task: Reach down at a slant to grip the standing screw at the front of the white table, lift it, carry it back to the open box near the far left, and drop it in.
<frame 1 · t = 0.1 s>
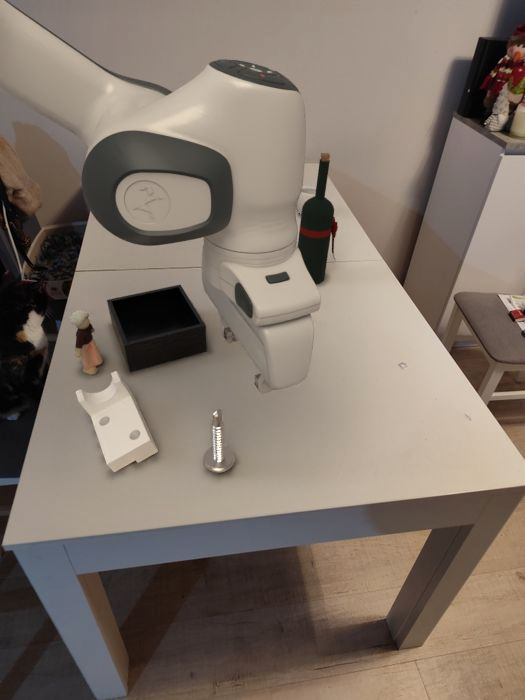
hand: (246, 362, 53), 24 cm above the table, tool pointing down, fingers open, 8 cm apart
screw: (219, 466, 70), on the table
bracket: (120, 436, 73), on the table
open box: (158, 338, 92), on the table
wine bottle: (313, 277, 114), on the table
flower pot: (190, 188, 155), on the table
mug: (305, 212, 144), on the table
grandmother figurine: (93, 365, 86), on the table
rock: (235, 258, 119), on the table
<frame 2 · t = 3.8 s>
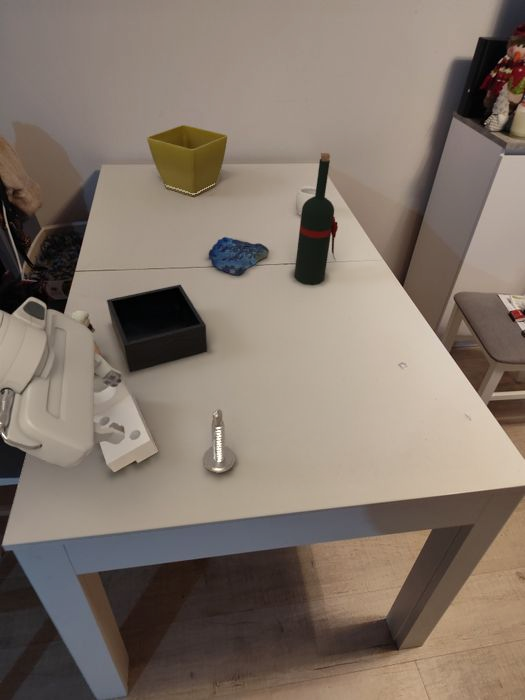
hand: (120, 406, 55), 17 cm above the table, tool tilted 45°, fingers open, 8 cm apart
nothing on the table moved.
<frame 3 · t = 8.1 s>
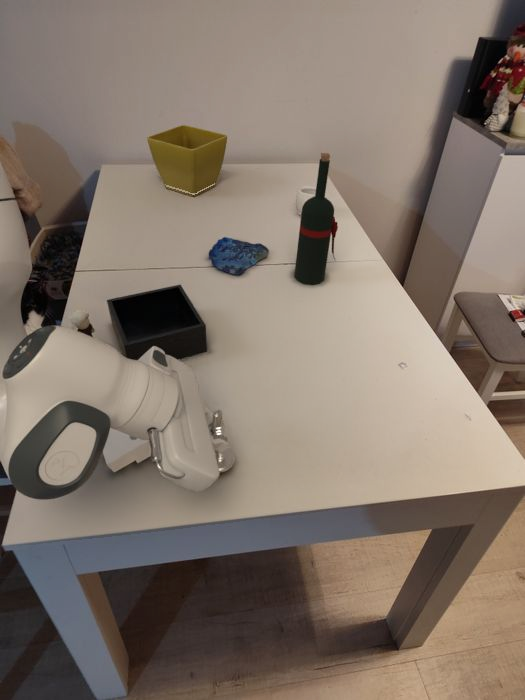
hand: (222, 436, 65), 7 cm above the table, tool tilted 45°, fingers closed on screw, 2 cm apart
screw: (219, 466, 70), on the table, touching gripper
everything else where it was.
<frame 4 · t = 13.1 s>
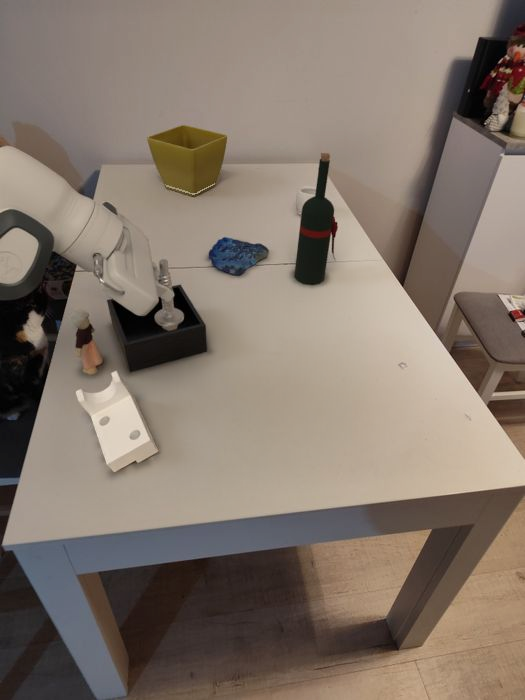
hand: (170, 290, 72), 19 cm above the table, tool tilted 45°, fingers closed on screw
screw: (170, 327, 76), point 12 cm above the table, touching gripper
everything else where it was.
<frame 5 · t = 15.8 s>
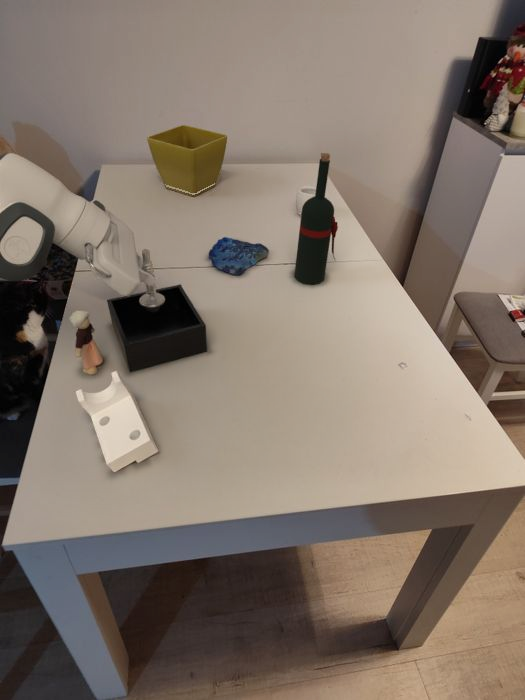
hand: (152, 276, 83), 15 cm above the table, tool tilted 45°, fingers closed on screw
screw: (153, 309, 88), point 7 cm above the table, touching gripper
everything else where it was.
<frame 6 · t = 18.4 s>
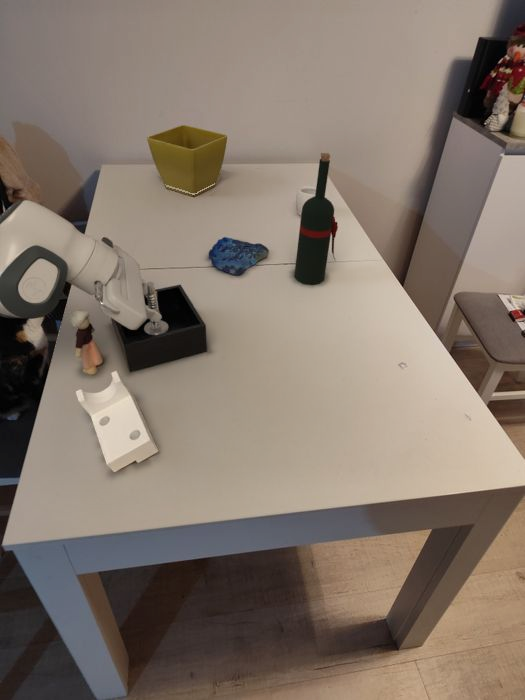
hand: (157, 307, 87), 8 cm above the table, tool tilted 45°, fingers open, 6 cm apart
screw: (157, 336, 92), point 1 cm above the table, touching open box
everything else where it was.
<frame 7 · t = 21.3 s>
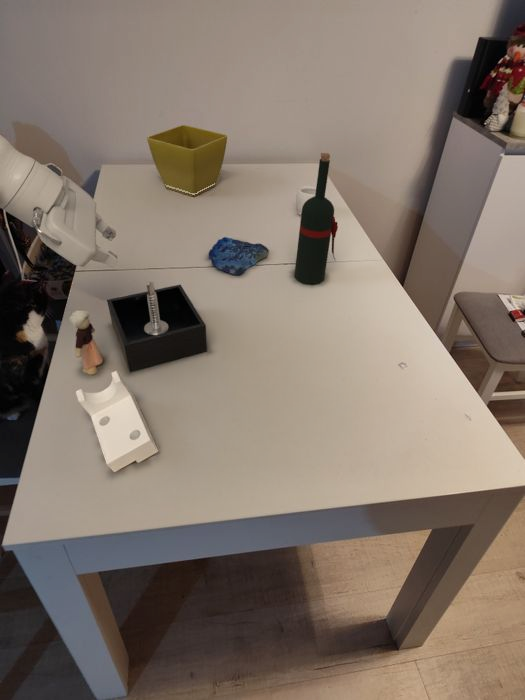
hand: (114, 248, 77), 21 cm above the table, tool tilted 45°, fingers open, 8 cm apart
nothing on the table moved.
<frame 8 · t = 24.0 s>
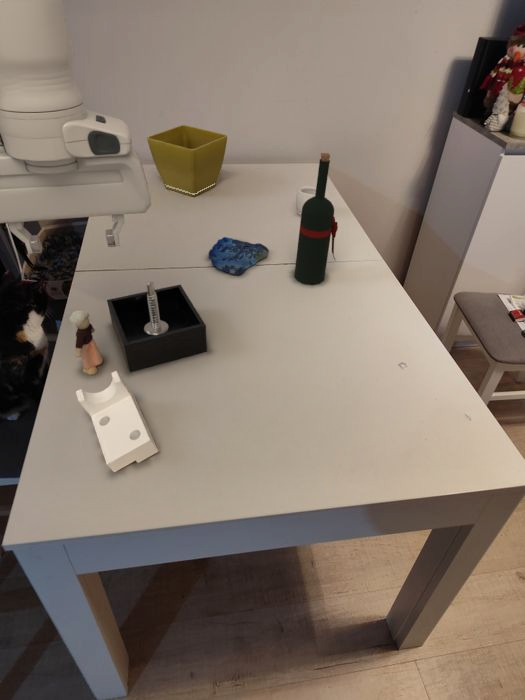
hand: (75, 248, 57), 31 cm above the table, tool pointing down, fingers open, 8 cm apart
nothing on the table moved.
at the end: screw inside the target area in the open box (0.1 cm from its centre), point 0.6 cm above the open box's base; the gripper is holding nothing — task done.
